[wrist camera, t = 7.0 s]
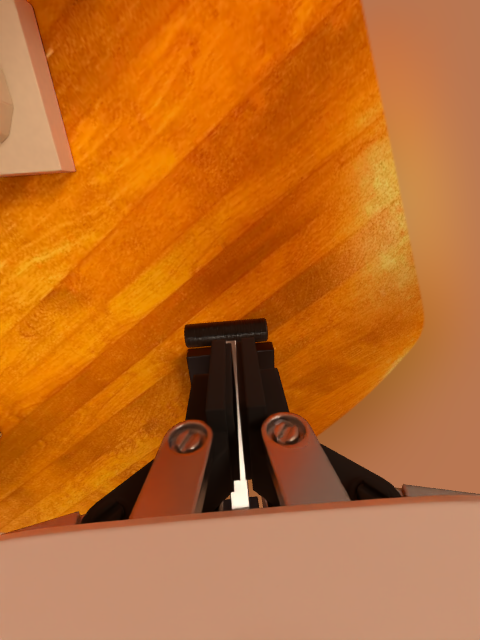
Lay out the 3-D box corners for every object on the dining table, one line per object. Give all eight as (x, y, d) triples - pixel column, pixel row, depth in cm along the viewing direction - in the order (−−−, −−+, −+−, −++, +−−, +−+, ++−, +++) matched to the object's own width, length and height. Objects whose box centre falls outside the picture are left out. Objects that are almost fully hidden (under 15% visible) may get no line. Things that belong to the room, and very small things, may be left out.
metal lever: (188, 325, 20) (181, 323, 17) (263, 319, 20) (267, 316, 18) (205, 546, 19) (200, 577, 17) (283, 539, 19) (290, 567, 17)
